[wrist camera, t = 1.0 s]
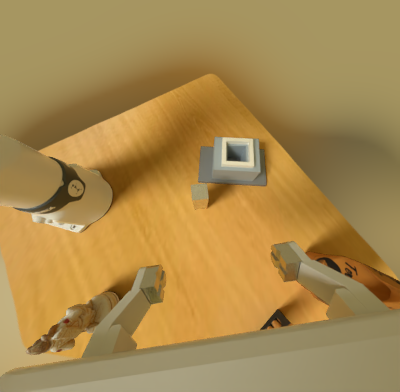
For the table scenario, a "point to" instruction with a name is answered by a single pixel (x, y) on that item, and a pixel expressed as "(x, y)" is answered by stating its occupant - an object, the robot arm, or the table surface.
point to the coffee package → (362, 277)
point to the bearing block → (231, 175)
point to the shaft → (199, 196)
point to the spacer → (235, 163)
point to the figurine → (75, 324)
